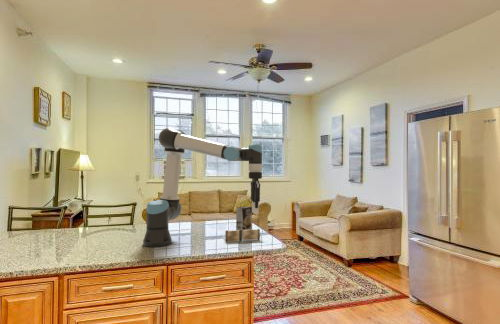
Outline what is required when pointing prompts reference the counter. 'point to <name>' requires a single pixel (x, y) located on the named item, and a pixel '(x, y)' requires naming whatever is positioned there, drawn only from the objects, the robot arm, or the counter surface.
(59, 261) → the counter surface
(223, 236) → the card
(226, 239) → the fence fixed section
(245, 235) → the fence gate
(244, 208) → the coffee box
